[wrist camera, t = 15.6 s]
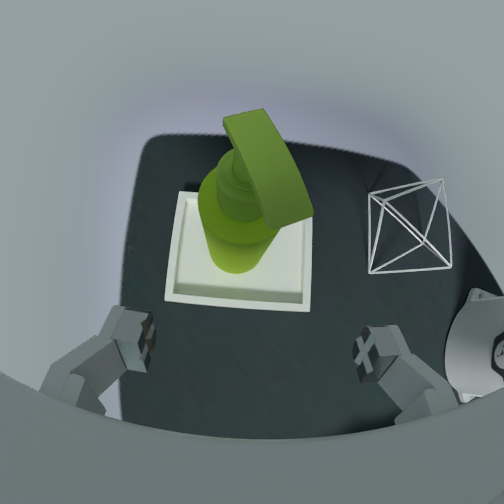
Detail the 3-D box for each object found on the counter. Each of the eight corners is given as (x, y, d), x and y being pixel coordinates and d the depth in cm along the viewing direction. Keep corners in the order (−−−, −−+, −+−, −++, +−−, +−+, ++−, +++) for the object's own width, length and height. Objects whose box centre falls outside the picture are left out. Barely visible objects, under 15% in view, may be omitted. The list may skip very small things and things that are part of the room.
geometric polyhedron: (396, 299, 31) (443, 292, 22) (334, 245, 32) (371, 221, 23) (428, 228, 34) (470, 208, 25) (376, 179, 35) (411, 146, 26)
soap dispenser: (223, 291, 29) (219, 246, 9) (201, 231, 30) (169, 104, 10) (274, 271, 30) (360, 196, 10) (251, 214, 31) (288, 77, 11)
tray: (307, 209, 32) (312, 204, 30) (304, 311, 30) (309, 311, 28) (181, 197, 31) (179, 191, 29) (168, 301, 28) (164, 300, 27)
